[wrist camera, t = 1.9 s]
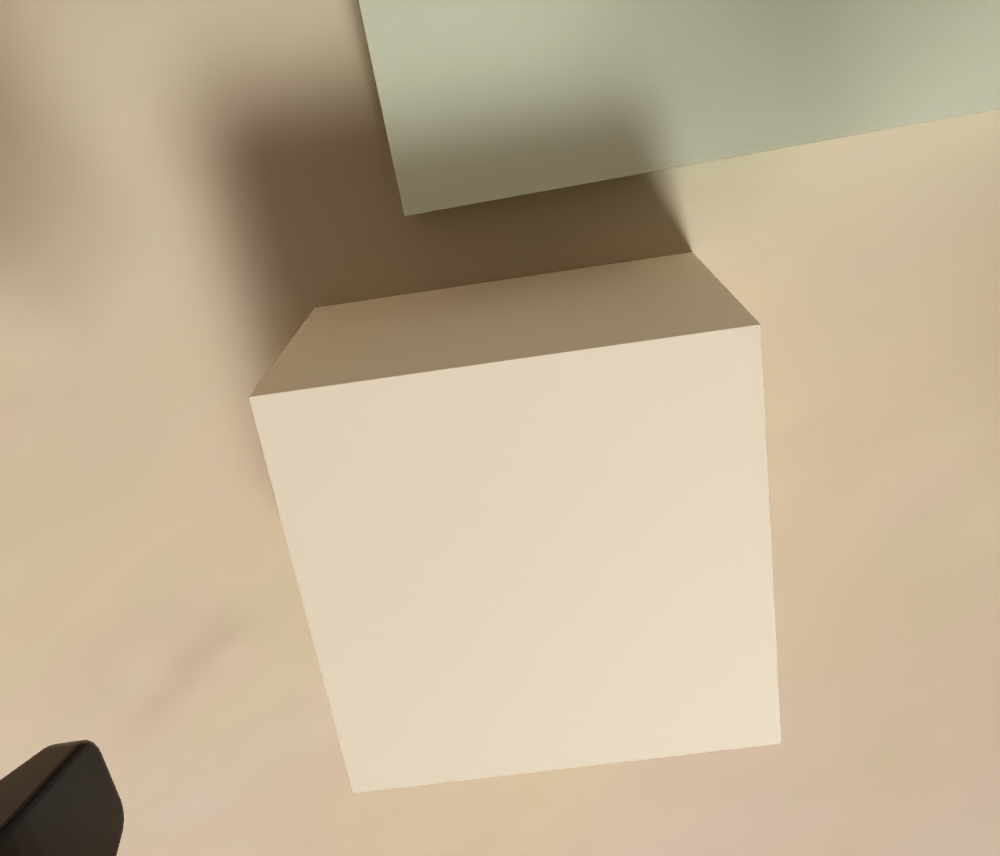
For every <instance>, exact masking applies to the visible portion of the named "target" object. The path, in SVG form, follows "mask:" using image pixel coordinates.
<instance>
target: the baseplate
mask: <svg viewBox="0 0 1000 856" xmlns="http://www.w3.org/2000/svg"><path fill="white" fill-rule="evenodd" d="M359 5H360V10H361V14H362V19H363V24H364V29H365V33H366V38H367V43H368V47H369V52H370V57H371V62H372V66H373V71H374V76H375V80H376V85H377V90H378V95H379V99H380V104H381V109H382V113H383V118H384V123H385V128H386V132H387V137H388V142H389V146H390V151H391V156H392V160H393V165H394V170H395V175H396V179H397V184H398V189H399V193H400V198H401V203H402V208H403V212H404V216H409V215H414V214H420V213H426V212H431V211H437V210H442V209H448V208H453V207H459V206H464V205H470V204H475V203H481V202H486V201H492V200H498V199H503V198H509V197H514V196H520V195H525V194H531V193H536V192H542V191H547V190H553V189H558V188H564V187H569V186H575V185H581V184H586V183H592V182H597V181H603V180H608V179H614V178H619V177H625V176H630V175H636V174H641V173H647V172H653V171H658V170H664V169H669V168H675V167H680V166H686V165H691V164H697V163H702V162H708V161H713V160H719V159H725V158H730V157H736V156H741V155H747V154H752V153H758V152H763V151H769V150H774V149H780V148H785V147H791V146H796V145H802V144H808V143H813V142H819V141H824V140H830V139H835V138H841V137H846V136H852V135H857V134H863V133H868V132H874V131H880V130H885V129H891V128H896V127H902V126H907V125H913V124H918V123H924V122H929V121H935V120H940V119H946V118H951V117H957V116H963V115H968V114H974V113H979V112H985V111H990V110H996V109H1000V0H359Z"/></svg>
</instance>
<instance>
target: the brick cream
mask: <svg viewBox="0 0 1000 856" xmlns="http://www.w3.org/2000/svg"><path fill="white" fill-rule="evenodd" d="M249 400H250V404H251V408H252V412H253V416H254V419H255V423H256V427H257V431H258V435H259V438H260V442H261V446H262V450H263V454H264V457H265V461H266V465H267V469H268V473H269V476H270V480H271V484H272V488H273V491H274V495H275V499H276V503H277V507H278V510H279V514H280V518H281V522H282V526H283V529H284V533H285V537H286V541H287V545H288V548H289V552H290V556H291V560H292V564H293V567H294V571H295V575H296V579H297V582H298V586H299V590H300V594H301V598H302V601H303V605H304V609H305V613H306V617H307V620H308V624H309V628H310V632H311V636H312V639H313V643H314V647H315V651H316V655H317V658H318V662H319V666H320V670H321V673H322V677H323V681H324V685H325V689H326V692H327V696H328V700H329V704H330V708H331V711H332V715H333V719H334V723H335V727H336V730H337V734H338V738H339V742H340V746H341V749H342V753H343V757H344V761H345V764H346V768H347V772H348V776H349V780H350V783H351V787H352V791H353V793H359V792H368V791H376V790H385V789H393V788H402V787H411V786H419V785H428V784H436V783H445V782H454V781H462V780H471V779H479V778H488V777H497V776H505V775H514V774H522V773H531V772H539V771H548V770H557V769H565V768H574V767H582V766H591V765H600V764H608V763H617V762H625V761H634V760H643V759H651V758H660V757H668V756H677V755H686V754H694V753H703V752H711V751H720V750H728V749H737V748H746V747H754V746H763V745H771V744H780V743H781V730H780V710H779V690H778V669H777V649H776V629H775V609H774V589H773V568H772V548H771V528H770V508H769V487H768V467H767V447H766V427H765V407H764V386H763V366H762V346H761V326H760V323H759V322H758V321H757V320H756V319H755V318H754V317H753V316H752V315H751V314H750V313H749V312H748V311H747V310H746V309H745V308H744V306H743V305H742V304H741V303H740V302H739V301H738V300H737V299H736V298H735V297H734V296H733V295H732V294H731V293H730V292H729V291H728V289H727V288H726V287H725V286H724V285H723V284H722V283H721V282H720V281H719V280H718V279H717V278H716V277H715V276H714V275H713V274H712V272H711V271H710V270H709V269H708V268H707V267H706V266H705V265H704V264H703V263H702V262H701V261H700V260H699V259H698V258H697V257H696V256H695V254H694V253H693V252H689V253H682V254H675V255H669V256H662V257H655V258H648V259H641V260H635V261H628V262H621V263H614V264H608V265H601V266H594V267H587V268H580V269H574V270H567V271H560V272H553V273H547V274H540V275H533V276H526V277H519V278H513V279H506V280H499V281H492V282H485V283H479V284H472V285H465V286H458V287H452V288H445V289H438V290H431V291H424V292H418V293H411V294H404V295H397V296H391V297H384V298H377V299H370V300H363V301H357V302H350V303H343V304H336V305H329V306H323V307H316V308H314V309H313V311H312V312H311V313H310V315H309V316H308V317H307V319H306V320H305V321H304V323H303V324H302V325H301V327H300V328H299V330H298V331H297V332H296V334H295V335H294V336H293V338H292V339H291V340H290V342H289V343H288V344H287V346H286V347H285V349H284V350H283V351H282V353H281V354H280V355H279V357H278V358H277V359H276V361H275V362H274V363H273V365H272V366H271V368H270V369H269V370H268V372H267V373H266V374H265V376H264V377H263V378H262V380H261V381H260V382H259V384H258V385H257V386H256V388H255V389H254V391H253V392H252V393H251V395H250V396H249Z"/></svg>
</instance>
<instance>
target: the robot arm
mask: <svg viewBox="0 0 1000 856" xmlns="http://www.w3.org/2000/svg"><path fill="white" fill-rule="evenodd" d="M123 824H124V812H123V806H122V803H121V799H120V797H119V795H118V792H117V790H116V787H115V785H114V783H113V780H112V778H111V775H110V773H109V771H108V768H107V766H106V763H105V761H104V758H103V756H102V754H101V752H100V750H99V748H98V747H97V746H96V745H95V744H94V743H93V742H91V741H88V740H81V741H74V742H67V743H60V744H54V745H51V746H48V747H46V748H44V749H43V750H41V751H40V752H39V753H37V754H36V755H35V756H33V757H32V758H30V759H29V760H28V761H26V762H25V763H23V764H22V765H21V766H19V767H18V768H16V769H15V770H14V771H12V772H11V773H10V774H8V775H7V776H5V777H4V778H3V779H1V780H0V856H116V855H117V851H118V847H119V843H120V839H121V835H122V831H123Z"/></svg>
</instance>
